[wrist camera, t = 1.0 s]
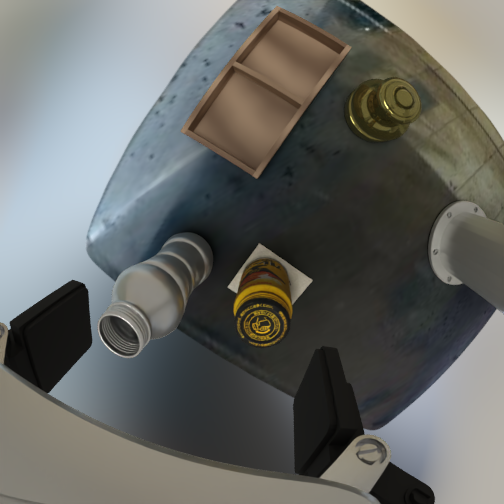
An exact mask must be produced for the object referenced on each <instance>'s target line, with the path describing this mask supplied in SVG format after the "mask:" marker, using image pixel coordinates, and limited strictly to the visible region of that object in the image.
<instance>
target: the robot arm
mask: <svg viewBox="0 0 504 504" xmlns="http://www.w3.org/2000/svg"><path fill="white" fill-rule="evenodd" d="M428 256H429V262H430V265H431V268H432V270H433V272H434V273H435V275H436V276H437V277H438V278H439V279H441V280H442V281H443V282H445V283H447V284H450V285H459V284H462V283H464V284H465V285H467V286H468V287H469V288H471V289H472V290H473V291H475V292H476V293H477V294H479V295H480V296H481V297H483V298H484V299H485V300H487V301H488V302H489V303H490V304H492V305H493V306H494V307H496V308H497V309H498V310H499V311H501V312H502V313H503V314H504V224H502V223H500V222H497V221H494V220H491V219H488V218H487V217H486V215H485V213H484V211H483V210H482V209H481V208H480V207H479V206H478V205H476V204H475V203H473V202H469V201H463V200H461V201H456V202H454V203H451V204H450V205H448V206H447V207H446V208H445V209H444V210H443V211H442V212H441V213H440V214H439V216H438V217H437V219H436V220H435V223H434V225H433V227H432V230H431V233H430V237H429V243H428ZM10 326H11V329H10V330H8V328H7V326H6V325H5V324H3V323H0V504H434V502H435V497H434V493H433V491H432V489H431V488H430V487H429V486H428V485H426V484H425V483H423V482H421V481H420V480H418V479H416V478H415V477H413V476H411V475H410V474H408V473H406V472H405V471H403V470H402V469H400V468H399V467H397V466H395V465H394V464H392V463H391V462H389V461H390V459H391V450H390V448H389V446H388V445H387V443H386V442H385V441H384V440H382V439H381V438H379V437H376V436H374V435H365V434H364V430H363V426H362V422H361V418H360V414H359V410H358V407H357V403H356V399H355V396H354V392H353V388H352V386H351V384H350V383H347V382H346V379H345V375H344V371H343V368H342V364H341V360H340V357H339V353H338V350H337V349H336V348H332V347H325V346H322V347H321V348H320V349H316V350H315V352H314V354H313V357H312V359H311V362H310V364H309V366H308V369H307V371H306V373H305V376H304V378H303V380H302V382H301V385H300V387H299V389H298V391H297V394H296V396H295V399H294V404H293V410H294V454H295V455H294V456H295V473H297V474H299V475H294V474H287V473H279V472H272V471H264V470H258V469H252V468H246V467H240V466H236V465H231V464H226V463H221V462H216V461H212V460H208V459H204V458H200V457H196V456H192V455H189V454H185V453H181V452H178V451H175V450H172V449H169V448H165V447H162V446H159V445H157V444H154V443H151V442H148V441H145V440H142V439H140V438H137V437H135V436H132V435H129V434H127V433H124V432H122V431H120V430H117V429H115V428H113V427H110V426H108V425H106V424H104V423H102V422H99V421H97V420H95V419H93V418H91V417H89V416H87V415H85V414H83V413H81V412H79V411H77V410H75V409H74V408H72V407H70V406H68V405H66V404H64V403H62V402H61V401H59V400H57V399H56V398H54V397H52V396H51V395H49V394H47V393H49V392H50V391H51V390H52V389H53V387H54V386H55V385H56V384H57V383H58V382H59V381H60V380H61V378H62V377H63V376H64V375H65V374H66V373H67V372H68V371H69V370H70V369H71V367H72V366H73V365H74V364H75V363H76V362H77V361H78V360H79V359H80V358H81V356H83V354H84V353H85V352H86V351H87V350H88V349H89V348H90V347H91V344H92V334H91V324H90V313H89V297H88V290H87V288H86V286H85V284H83V283H81V282H78V281H75V280H72V281H70V282H68V283H66V284H65V285H63V286H62V287H60V288H59V289H57V290H56V291H54V292H52V293H51V294H49V295H48V296H46V297H45V298H43V299H42V300H40V301H39V302H37V303H36V304H34V305H33V306H32V307H30V308H29V309H27V310H26V311H24V312H23V313H21V314H20V315H19V316H17V317H16V318H14V319H13V320H12V321H10Z"/></svg>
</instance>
